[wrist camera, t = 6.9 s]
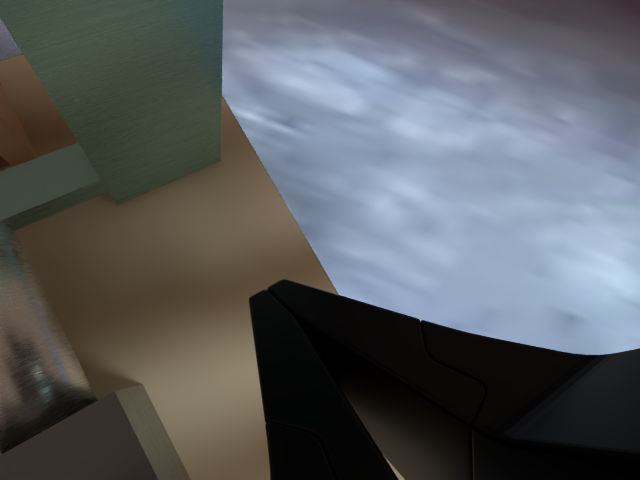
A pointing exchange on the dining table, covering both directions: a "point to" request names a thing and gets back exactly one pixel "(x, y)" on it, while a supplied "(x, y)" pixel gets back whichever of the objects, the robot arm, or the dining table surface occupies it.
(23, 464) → the sleeve
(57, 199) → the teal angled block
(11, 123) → the orange block
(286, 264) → the birch board
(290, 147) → the dining table surface
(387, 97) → the dining table surface
